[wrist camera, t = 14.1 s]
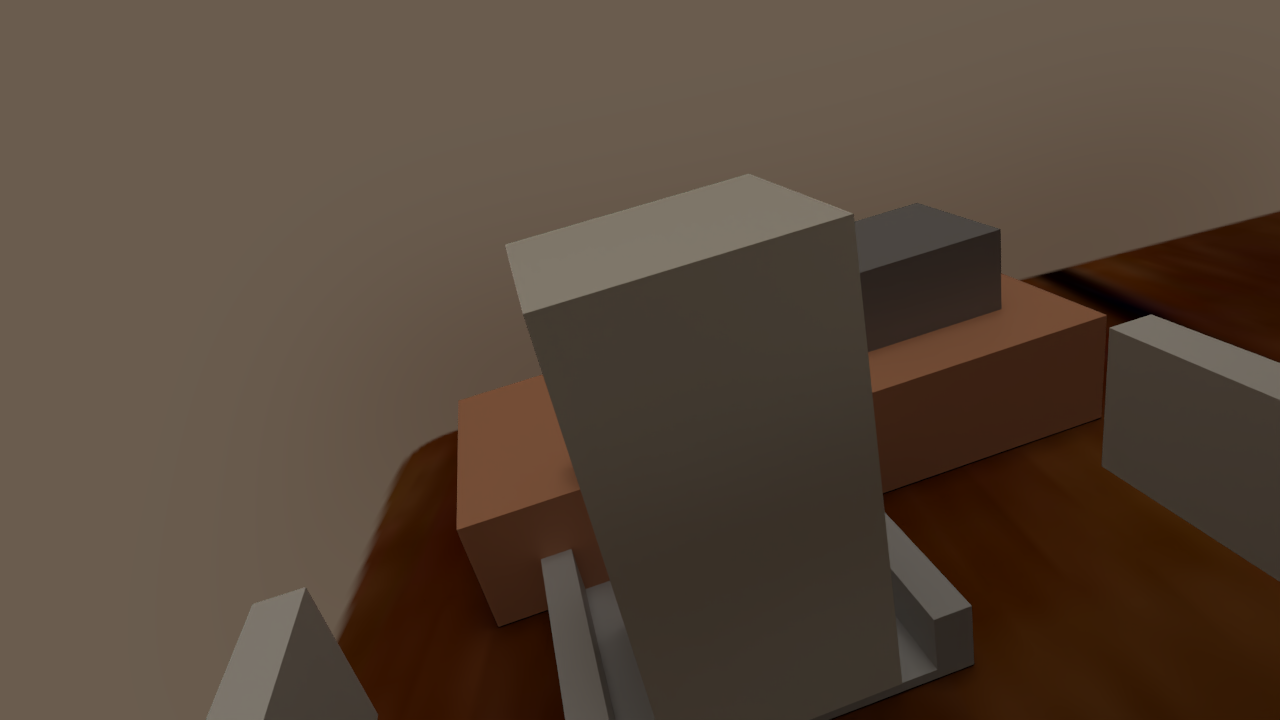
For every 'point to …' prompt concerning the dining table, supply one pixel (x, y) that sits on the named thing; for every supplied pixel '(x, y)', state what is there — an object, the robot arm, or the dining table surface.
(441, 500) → the dining table surface
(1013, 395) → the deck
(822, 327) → the tall grey brick
